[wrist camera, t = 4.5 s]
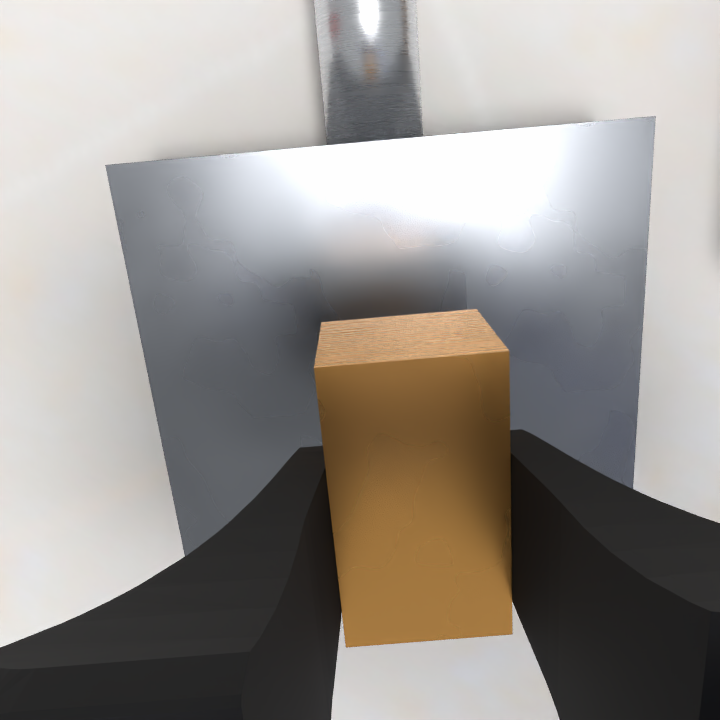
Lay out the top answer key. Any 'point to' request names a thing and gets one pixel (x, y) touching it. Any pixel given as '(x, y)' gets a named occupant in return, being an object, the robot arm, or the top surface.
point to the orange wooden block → (418, 475)
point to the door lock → (383, 266)
